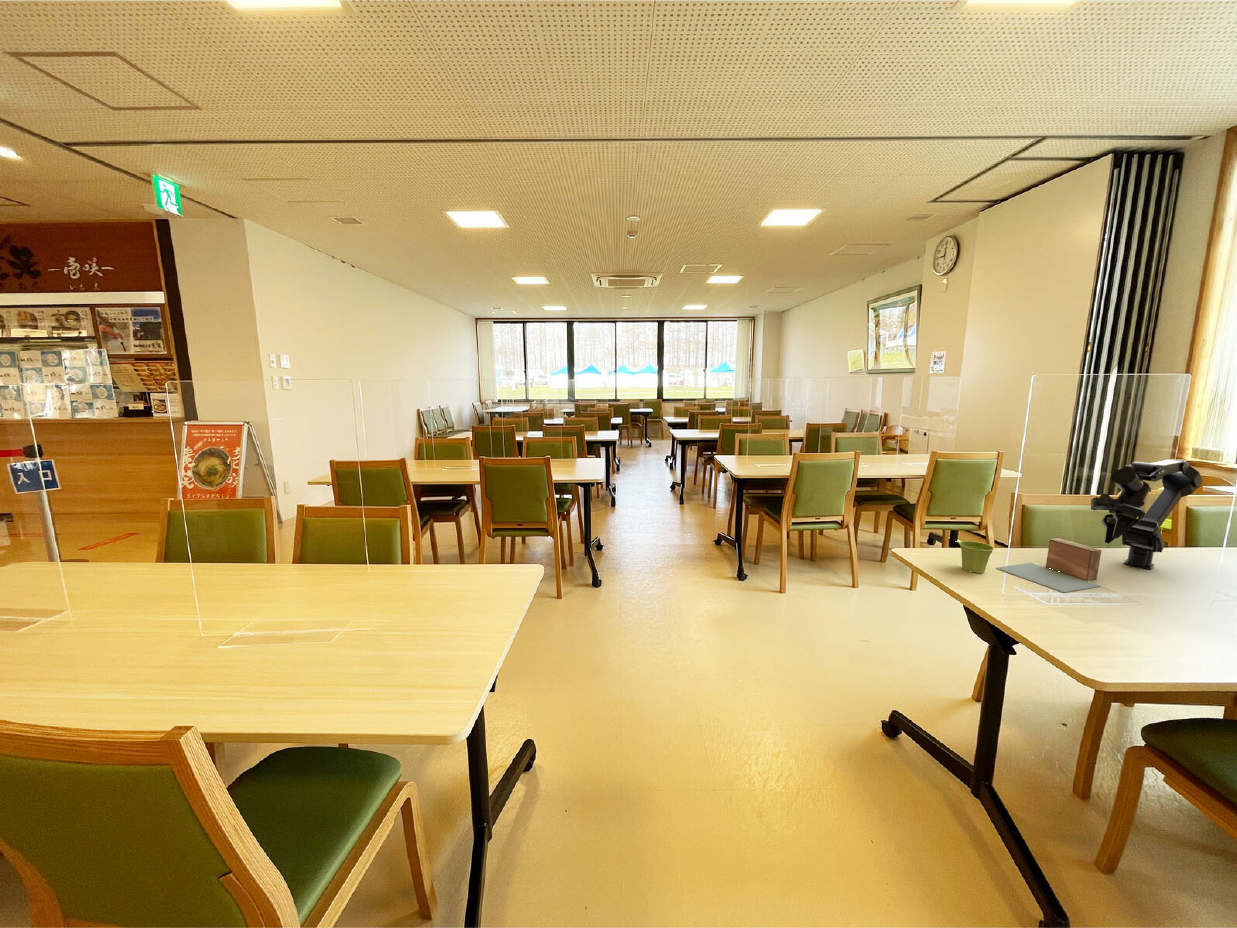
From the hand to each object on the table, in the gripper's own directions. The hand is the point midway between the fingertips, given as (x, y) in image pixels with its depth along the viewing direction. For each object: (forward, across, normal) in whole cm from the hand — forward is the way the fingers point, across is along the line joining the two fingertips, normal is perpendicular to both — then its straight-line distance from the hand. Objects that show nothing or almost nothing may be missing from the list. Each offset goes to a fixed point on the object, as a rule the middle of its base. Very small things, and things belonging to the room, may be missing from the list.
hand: (1110, 540), depth 159 cm
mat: (+21, +8, -11) cm, 25 cm away
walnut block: (+15, 0, -5) cm, 16 cm away
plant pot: (+29, +13, -28) cm, 42 cm away
